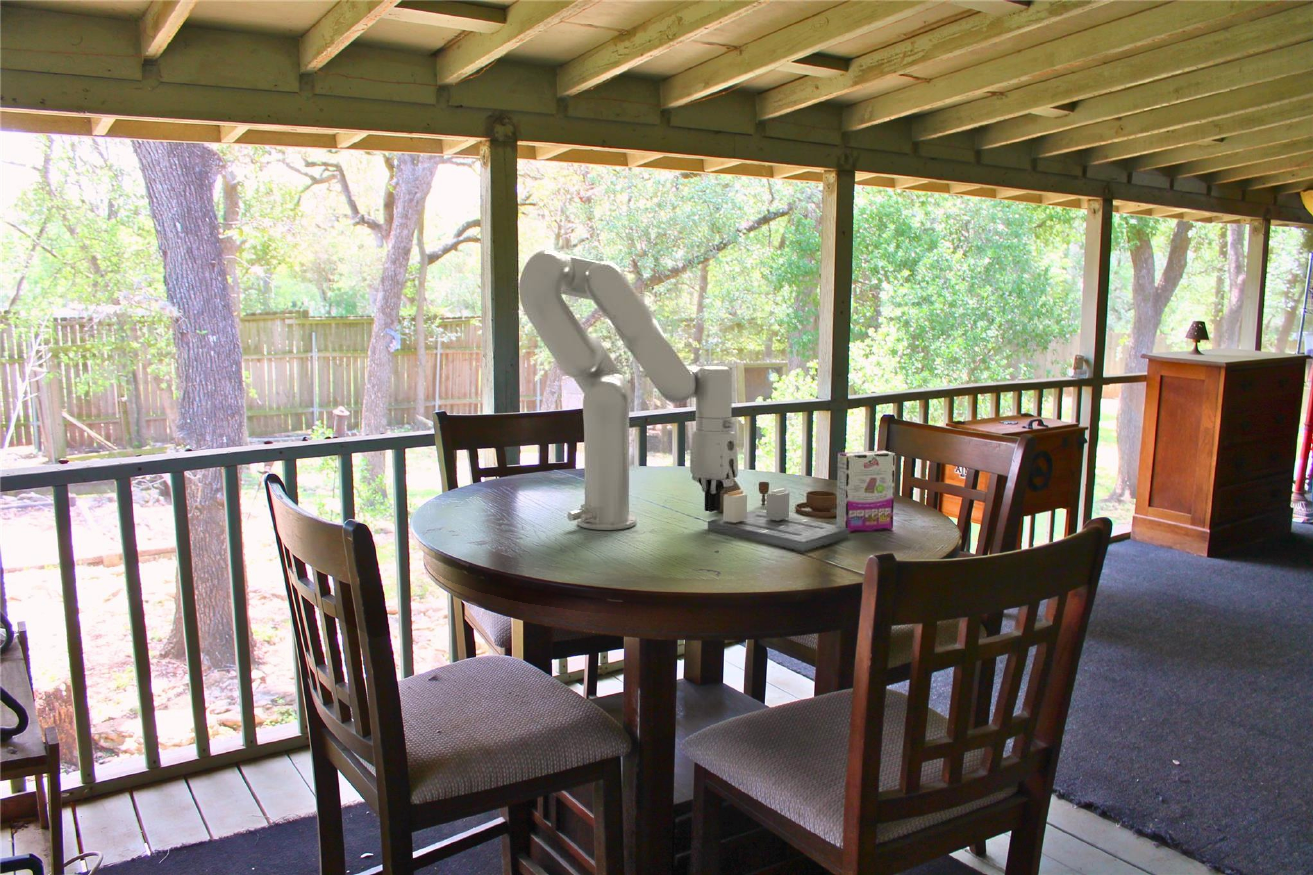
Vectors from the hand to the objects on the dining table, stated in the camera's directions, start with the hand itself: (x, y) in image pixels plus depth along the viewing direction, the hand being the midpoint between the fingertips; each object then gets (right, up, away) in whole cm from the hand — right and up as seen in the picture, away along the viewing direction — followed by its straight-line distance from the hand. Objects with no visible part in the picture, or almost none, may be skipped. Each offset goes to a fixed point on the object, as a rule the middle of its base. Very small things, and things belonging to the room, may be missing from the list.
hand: (712, 510), depth 194 cm
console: (+13, -4, -7) cm, 15 cm away
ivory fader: (+5, -2, -4) cm, 6 cm away
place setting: (+24, -2, +19) cm, 30 cm away
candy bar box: (+32, -4, -1) cm, 32 cm away
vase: (+4, -2, +14) cm, 15 cm away
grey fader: (+14, -1, -2) cm, 14 cm away
